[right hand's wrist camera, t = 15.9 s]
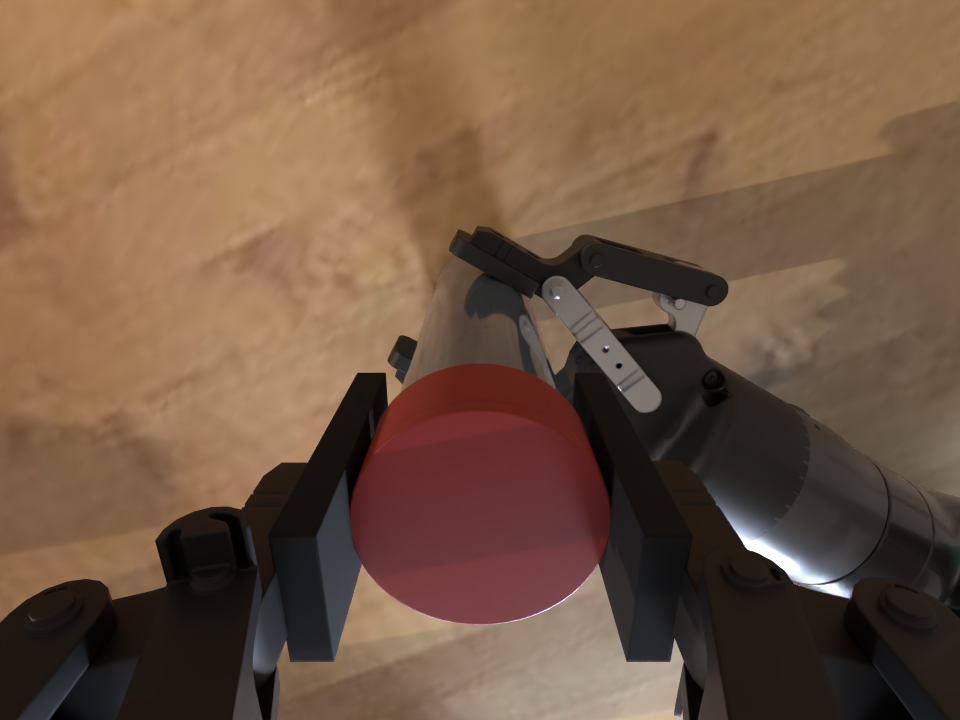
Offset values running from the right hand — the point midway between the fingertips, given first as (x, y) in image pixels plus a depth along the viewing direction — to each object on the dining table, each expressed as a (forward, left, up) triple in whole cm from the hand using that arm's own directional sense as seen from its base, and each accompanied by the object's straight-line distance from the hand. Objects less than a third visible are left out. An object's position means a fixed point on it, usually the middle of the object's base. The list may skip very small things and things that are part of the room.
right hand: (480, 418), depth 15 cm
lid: (0, 0, +4) cm, 4 cm away
